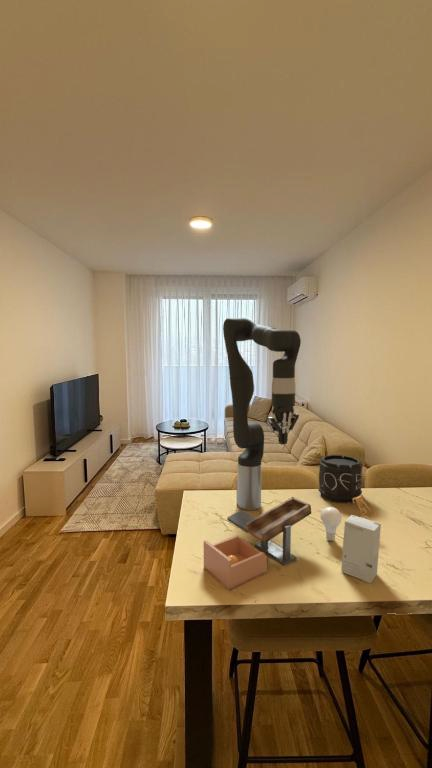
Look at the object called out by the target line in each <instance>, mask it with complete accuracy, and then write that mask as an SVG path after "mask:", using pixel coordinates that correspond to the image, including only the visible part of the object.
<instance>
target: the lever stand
mask: <svg viewBox="0 0 432 768" xmlns="http://www.w3.org/2000/svg"><path fill="white" fill-rule="evenodd" d="M262 514H263V513H261V514H260V515H262ZM291 530H292V526H290V525H289V524H287V525H284V526H283V532H282V546H280V545H278V544H277V543H275V542H273V541H272V540H269V541H268V542H266V543H263V542H262V541H260V540H259V541H257V542H254V548H256V549H257V550H259V551H260V552H264V553H265V555H268V556H269V557H270V558H272V559H273V560H275V561H277V562H278V563H280V564H281V565H282V566H284V567H285V566H288V565H290V564H291V563H294V562H296V561H297V560H298V557H297V555H294V554H292V551H291V547H292V545H291V544H292V543H291V540H292V539H291V538H292V537H291V536H292V535H291V533H292V531H291Z"/></svg>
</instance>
